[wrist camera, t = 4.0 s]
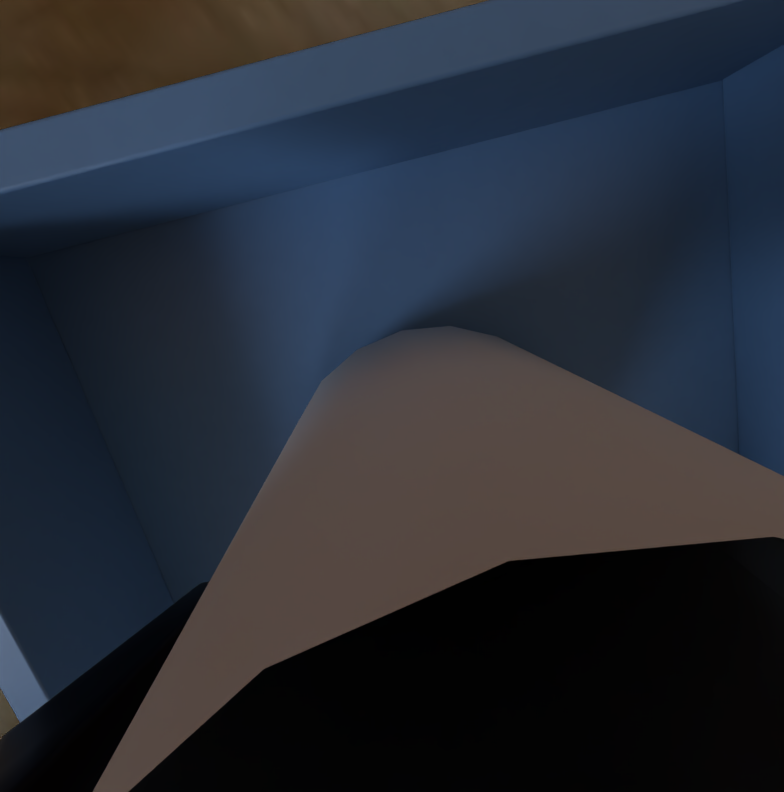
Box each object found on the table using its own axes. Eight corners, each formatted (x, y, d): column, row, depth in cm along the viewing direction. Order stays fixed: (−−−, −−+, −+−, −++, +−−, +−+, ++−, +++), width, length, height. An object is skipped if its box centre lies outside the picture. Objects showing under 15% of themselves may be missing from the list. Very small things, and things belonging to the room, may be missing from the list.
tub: (214, 739, 15) (143, 938, 11) (-9, 233, 11) (-283, 202, 7) (763, 619, 15) (939, 776, 10) (743, 39, 11) (1027, -145, 6)
